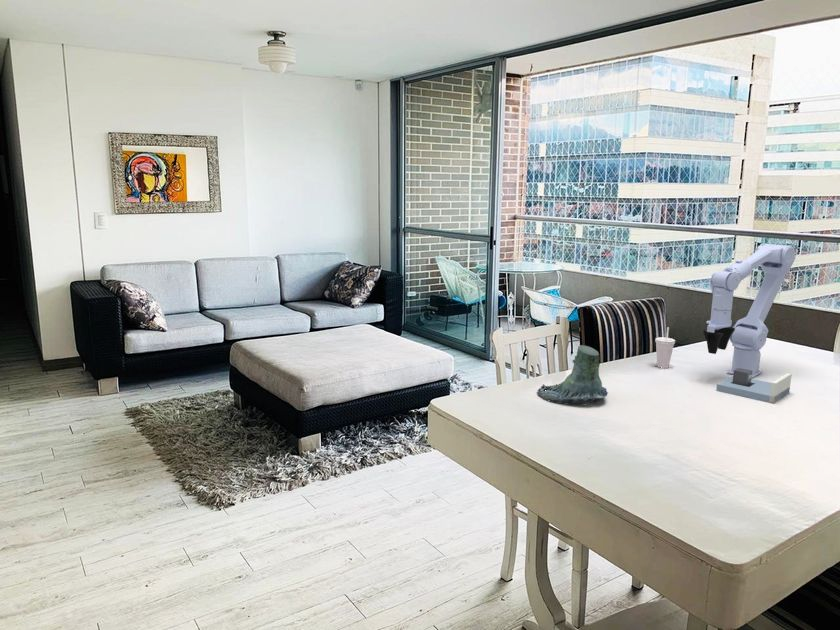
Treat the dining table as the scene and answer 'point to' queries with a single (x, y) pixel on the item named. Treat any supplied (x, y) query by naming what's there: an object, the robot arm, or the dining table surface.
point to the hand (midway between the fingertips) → (717, 351)
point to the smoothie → (664, 350)
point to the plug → (742, 377)
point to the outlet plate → (759, 388)
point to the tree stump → (578, 381)
